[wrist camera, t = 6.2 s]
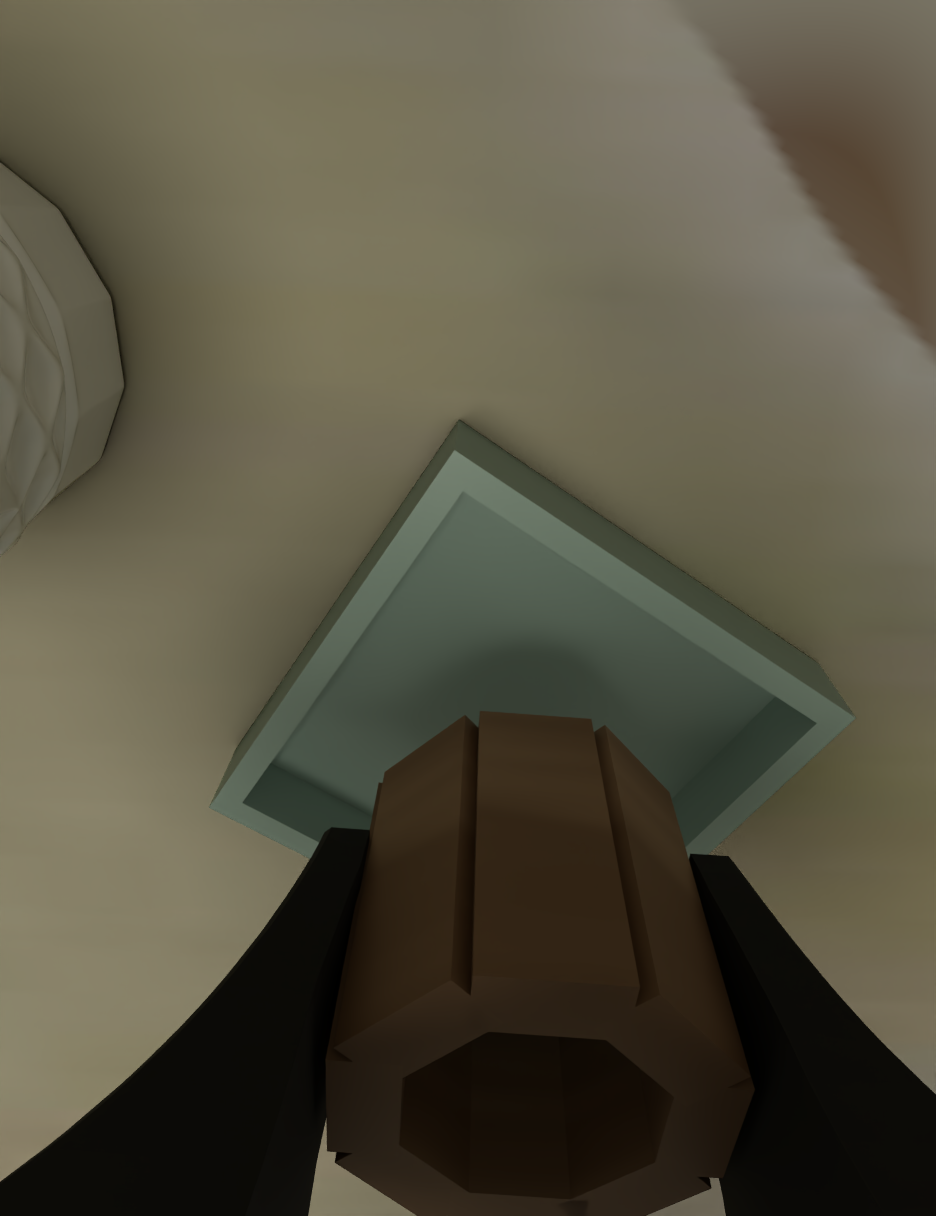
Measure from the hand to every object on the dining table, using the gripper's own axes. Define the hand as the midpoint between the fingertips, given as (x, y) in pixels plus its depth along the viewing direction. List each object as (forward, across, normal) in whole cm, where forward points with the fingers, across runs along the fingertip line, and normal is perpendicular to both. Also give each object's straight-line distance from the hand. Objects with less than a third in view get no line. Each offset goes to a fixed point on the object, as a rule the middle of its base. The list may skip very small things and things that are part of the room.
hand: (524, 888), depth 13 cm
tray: (+5, 0, 0) cm, 5 cm away
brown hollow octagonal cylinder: (+1, 0, 0) cm, 1 cm away
